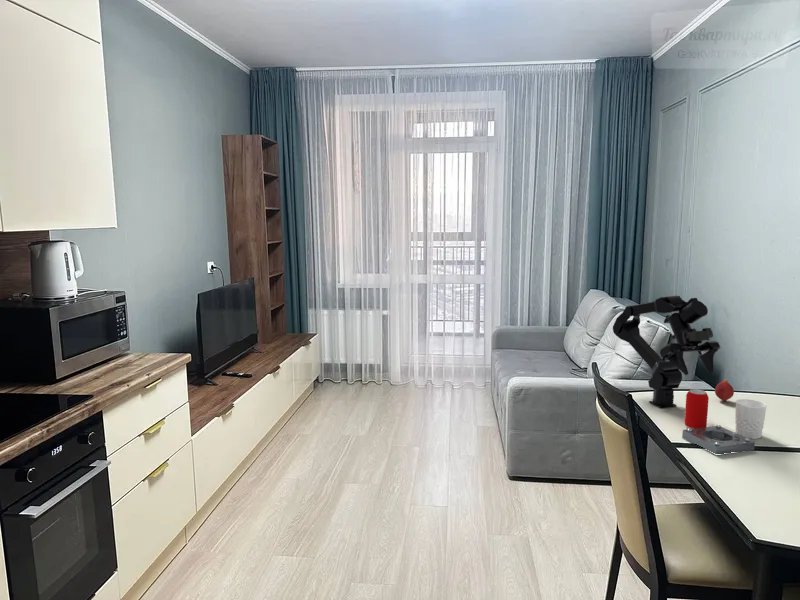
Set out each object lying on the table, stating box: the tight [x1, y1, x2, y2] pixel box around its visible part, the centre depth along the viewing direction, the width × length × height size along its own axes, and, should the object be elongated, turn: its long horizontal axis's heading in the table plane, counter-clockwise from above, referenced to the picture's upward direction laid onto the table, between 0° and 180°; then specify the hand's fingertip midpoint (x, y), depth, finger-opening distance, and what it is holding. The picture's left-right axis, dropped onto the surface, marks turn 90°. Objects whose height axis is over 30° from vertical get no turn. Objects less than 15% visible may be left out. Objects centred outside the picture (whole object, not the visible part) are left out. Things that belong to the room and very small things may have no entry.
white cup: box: [734, 398, 767, 440], centre depth 170 cm, size 8×8×10 cm
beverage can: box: [684, 388, 710, 429], centre depth 176 cm, size 6×6×12 cm
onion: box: [714, 379, 735, 402], centre depth 200 cm, size 6×6×8 cm
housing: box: [681, 424, 756, 455], centre depth 164 cm, size 13×13×3 cm
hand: (699, 373), depth 180 cm, fingers open, 9 cm apart
